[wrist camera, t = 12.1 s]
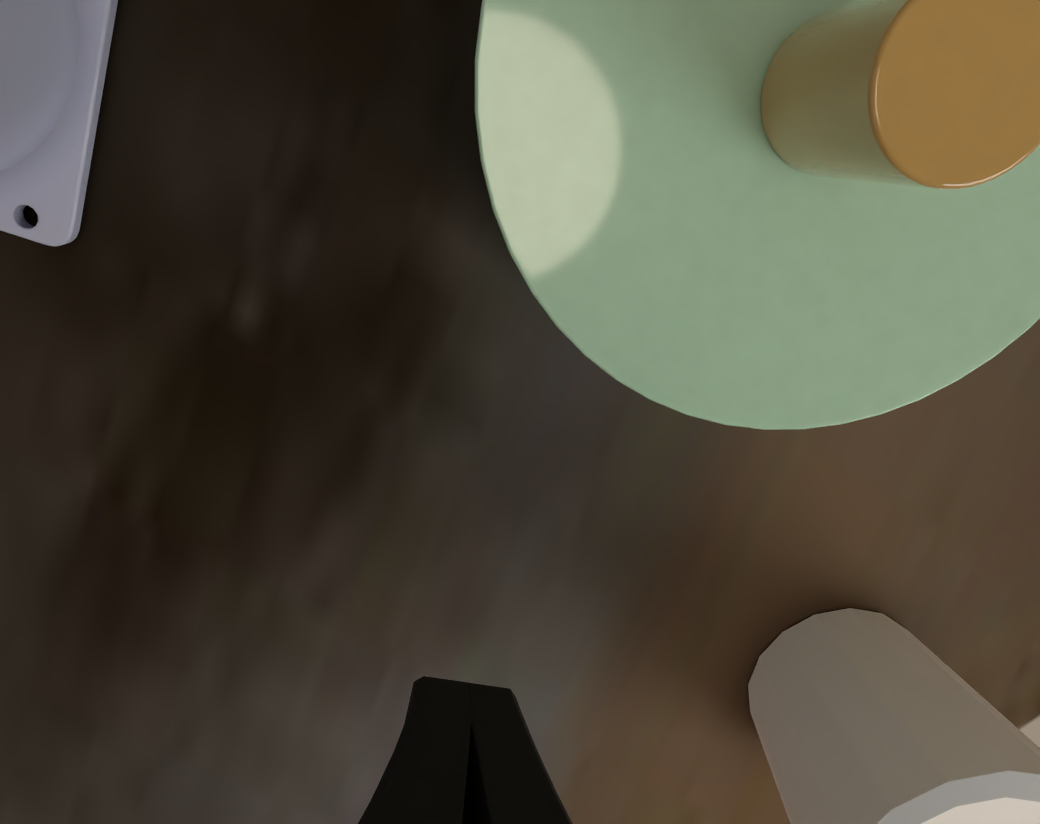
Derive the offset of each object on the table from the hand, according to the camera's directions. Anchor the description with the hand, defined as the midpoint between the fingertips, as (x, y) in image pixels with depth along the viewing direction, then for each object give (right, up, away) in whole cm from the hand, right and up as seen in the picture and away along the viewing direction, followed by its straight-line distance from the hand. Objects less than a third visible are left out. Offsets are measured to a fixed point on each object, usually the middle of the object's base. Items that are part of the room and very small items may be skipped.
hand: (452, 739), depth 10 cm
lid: (+6, +10, +2) cm, 11 cm away
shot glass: (+11, -4, +14) cm, 18 cm away
